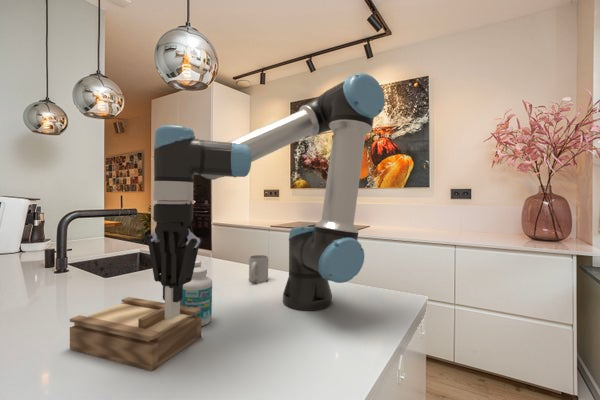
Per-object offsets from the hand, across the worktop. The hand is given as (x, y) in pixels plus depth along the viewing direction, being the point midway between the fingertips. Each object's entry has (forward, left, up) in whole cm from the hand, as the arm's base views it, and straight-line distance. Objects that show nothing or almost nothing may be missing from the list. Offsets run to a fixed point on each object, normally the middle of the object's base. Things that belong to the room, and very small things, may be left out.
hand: (172, 316), depth 61 cm
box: (+9, 0, -7) cm, 12 cm away
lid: (+10, 0, -3) cm, 11 cm away
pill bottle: (+4, -13, -8) cm, 16 cm away
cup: (+6, -50, -8) cm, 51 cm away
